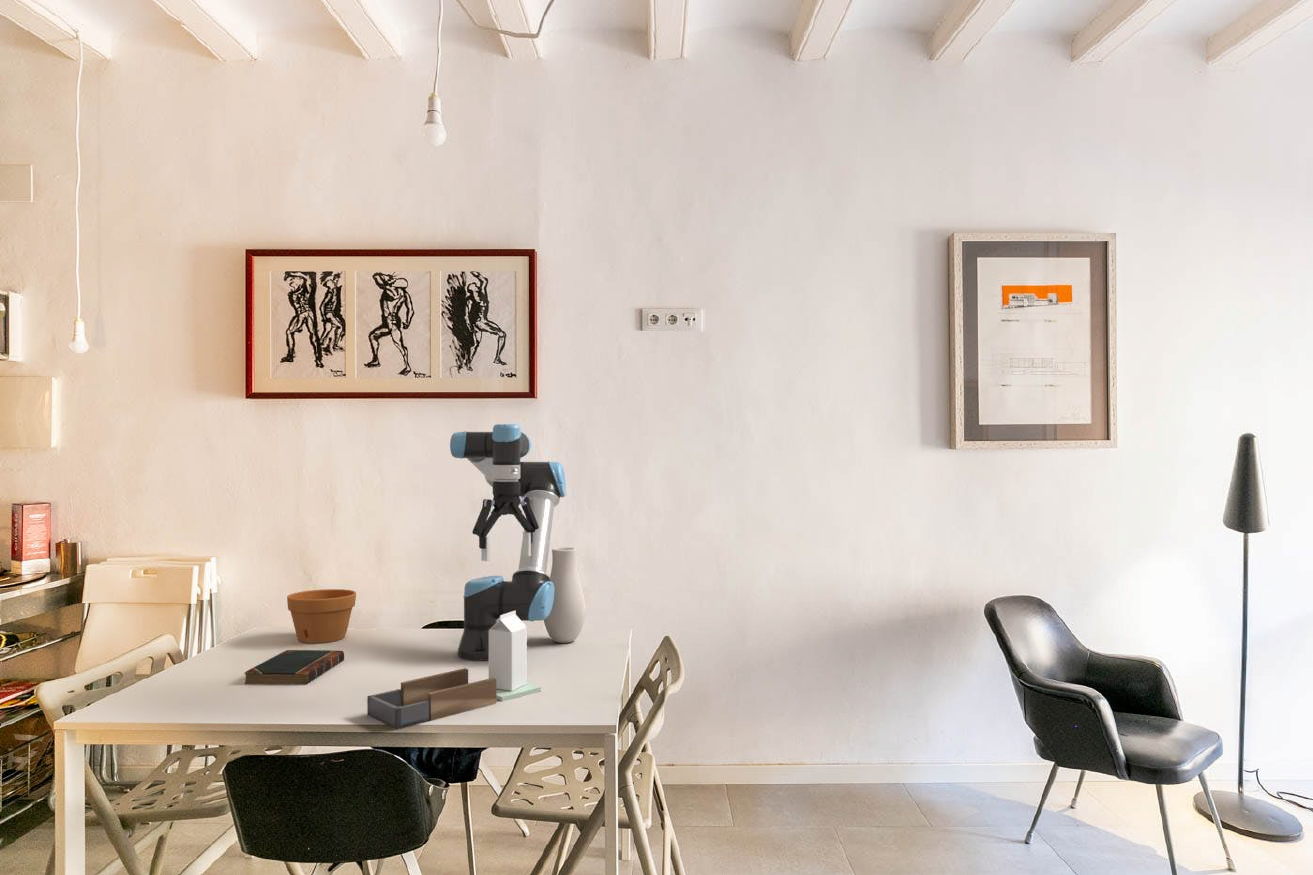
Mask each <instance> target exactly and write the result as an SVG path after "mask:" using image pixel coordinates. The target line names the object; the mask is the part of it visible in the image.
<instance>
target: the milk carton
mask: <svg viewBox="0 0 1313 875" xmlns="http://www.w3.org/2000/svg"><path fill="white" fill-rule="evenodd" d="M496 622H497V623H496V624H495V625H494V626H492V627H491V628H490V629H489V660H488V679H490V678H495V679H496V689H501V690H508V691H513V690H515V689H517V688H519V687H521V686H523V685H525V684H527V683H528V682H527V681H528V680H527V679H528V678H527V675H528V674H527V671H528V670H527V663H528V662H527V661H528V658H527V656H528V654H527V652H528V649H527V644H528V643H527V642H528V641H527V640H528V639H527V634H528V630H527V629H528V628H527V626H526V624H525V623H524V622H523V621H521V620H520V619H519V618H518V617H517V616H516V611H512V612H509V613H506V614H503V615H500V618H498V619H497V620H496Z"/></svg>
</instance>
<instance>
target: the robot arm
mask: <svg viewBox="0 0 1313 875" xmlns="http://www.w3.org/2000/svg"><path fill="white" fill-rule="evenodd" d="M531 446H532V442H531V439H530V437H529V436H528V435H527V434H525V433H524V432H522V431H521V426H520V425H519V424H515V423H513V424H512V423H506V424H505V423H502V424H501V423H499V424H494V425H493V427H492V431H466V430H465V431H456V432H454V433H452V435H451V436H450V442H449V450H450V454H451V456H452V457H453V458H454V459H467V460H468V461H469V462H470V463H471V464H472V465H473V466H474V467H475V468H476V469H477V470H478V471H480V473H481V474H483V476H484V479H485V481H486V483H487V484H489V486H490V487H492V495H493V497H492V498H493V499H490V498H489V499H487V498H486V499H485V498H484V499H482V507H481V510H480V512H479V514H478V517H477V519H476V522H475V524H474V527H473V529H472V533H471V534H473V535H475V536H477V537H478V547H479V549H480V550H481V551H480V552H481V556H480V558H481V561H483V562H490V543H491V542H490V536H488V535H489V533H490V531H491V530H492V529H493V527H494V526H495V524H496V522H497V521H498V519H500V517H502V516H506V515H513V516H514V517H515V519H516V520H517V522H518V523H519V524H520V526H521V527H522V528H523V532H522V542H521V547H520V548H521V549H520V556H519V563H518V570H516V571H515V572H513V574H512V577H511V580H508V581H507V580H505V579H504V576H503V575H489V576H483V577H477V578H474V579H471V580H468V581H467V582H466V583H465V584H464V594H463V632H462V635H461V639H460V641H459V645H458V648H457V656H458V657H459V658H460V659H464V660H467V661H468V660H469V661H489V629H490V628H491V627H492V626H494V625H495V624H496V623H497V622H496V620H497V619H498V618H500V615H503V614H506V613H509V612H512V611H516V616H517V617H518V618H519V619H520V620H521V621H522V622H523V621H525V622H528V621H529V622H535V621H538V622H539V621H544V620H545V619H546V618H547V617H548V616H549V614H550V612H551V609H552V606H553V601H554V592H555V588H554V584H553V583H552V582H550V575H549V574H548V573H547V567H548V559H549V552H550V544H551V534H552V525H553V518H554V510H555V507H556V506H558V505H559V504H560V500H561V498H564V497H566V495H567V483H566V476H565V470H564V467H563V465H562V463H561V462H559V461H550V460H548V461H521V458H524V457H525V456H527V455H528V454H529V452H530V451H531V450H532V449H531V448H532V447H531ZM519 506H521V508H520V507H519ZM492 507H493V508H492ZM504 580H505V581H504Z"/></svg>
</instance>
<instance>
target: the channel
mask: <svg viewBox="0 0 1313 875" xmlns="http://www.w3.org/2000/svg"><path fill="white" fill-rule="evenodd" d="M400 690H401V706H407V705H411V704H415V703H419V702H423V701H429V721H434V720H438V719H443V718H446V717H450V716H453V715H458V714H461V713H464V712H465V713H466V712H468V711H469V712H470V711H472V710H476V709H480V708H481V709H482V708H485V707H488V706H491V705H495V704H497V699H496V679H495V678H490V679H489V678H486V679H482V680H478V681H474V682H470V683H469V669H468V668H465V667H464V668H461V669H455V670H451V671H447V672H442V673H437V674H433V675H428V676H425V677H419V678H415V679H411V680H406V681H401V682H400Z"/></svg>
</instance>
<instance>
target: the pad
mask: <svg viewBox="0 0 1313 875" xmlns="http://www.w3.org/2000/svg"><path fill="white" fill-rule="evenodd" d="M541 691H542V687H541V686H539V685H536V684H533V683H530V682H527V684H525V685H523V686H521V687H519V688H517V689H515V690H513V691H508V690H501V689H496V701H497V700H498V701H500V702H505V701H509V700H511V699H515V698H516V699H517V698H519V697H522V696H527V695H531V694H535V693H539V692H541Z"/></svg>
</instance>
